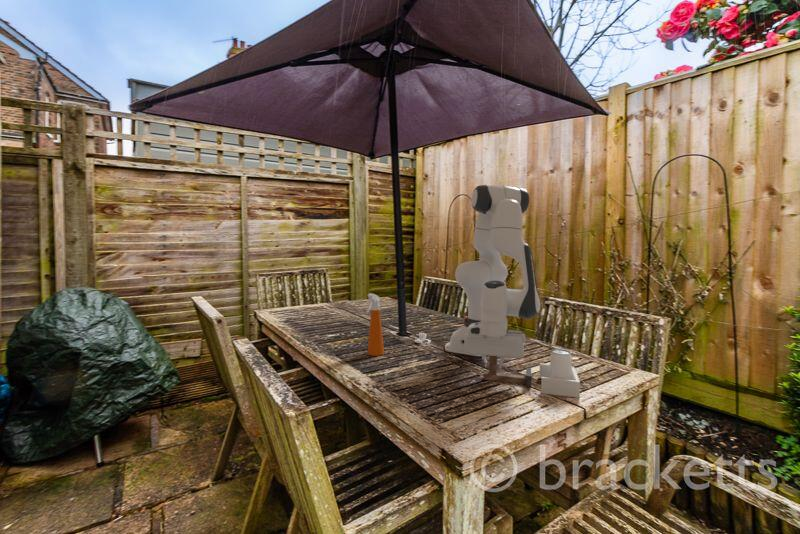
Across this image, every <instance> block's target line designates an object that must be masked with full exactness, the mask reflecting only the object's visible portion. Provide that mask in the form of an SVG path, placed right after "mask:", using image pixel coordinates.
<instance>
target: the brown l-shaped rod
mask: <svg viewBox="0 0 800 534" xmlns="http://www.w3.org/2000/svg"><path fill="white" fill-rule="evenodd" d="M488 357H489V358H488V360H489V368H488V371H484V372H483V380H485V381H486V380H487V381H494V382H502V383H503V382H504V383H510V384H520V385H525V386H526V387H525V388H526V389H527V388H528V389H532V368H531V367H526V370H525V371H526V372H525V375H521V374H520V375H519V374H513V373H512V374H511V373H503V372H498V369H497V362H498V356H489V355H488Z"/></svg>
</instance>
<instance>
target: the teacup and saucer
mask: <svg viewBox="0 0 800 534" xmlns="http://www.w3.org/2000/svg"><path fill="white" fill-rule="evenodd" d="M425 341H427V342H425ZM431 342H432V340H431V339H428V338H427V333H425V332H419V333H418V338H417V339H414V343H417V344H422V345H424V344H429V343H431Z"/></svg>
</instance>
